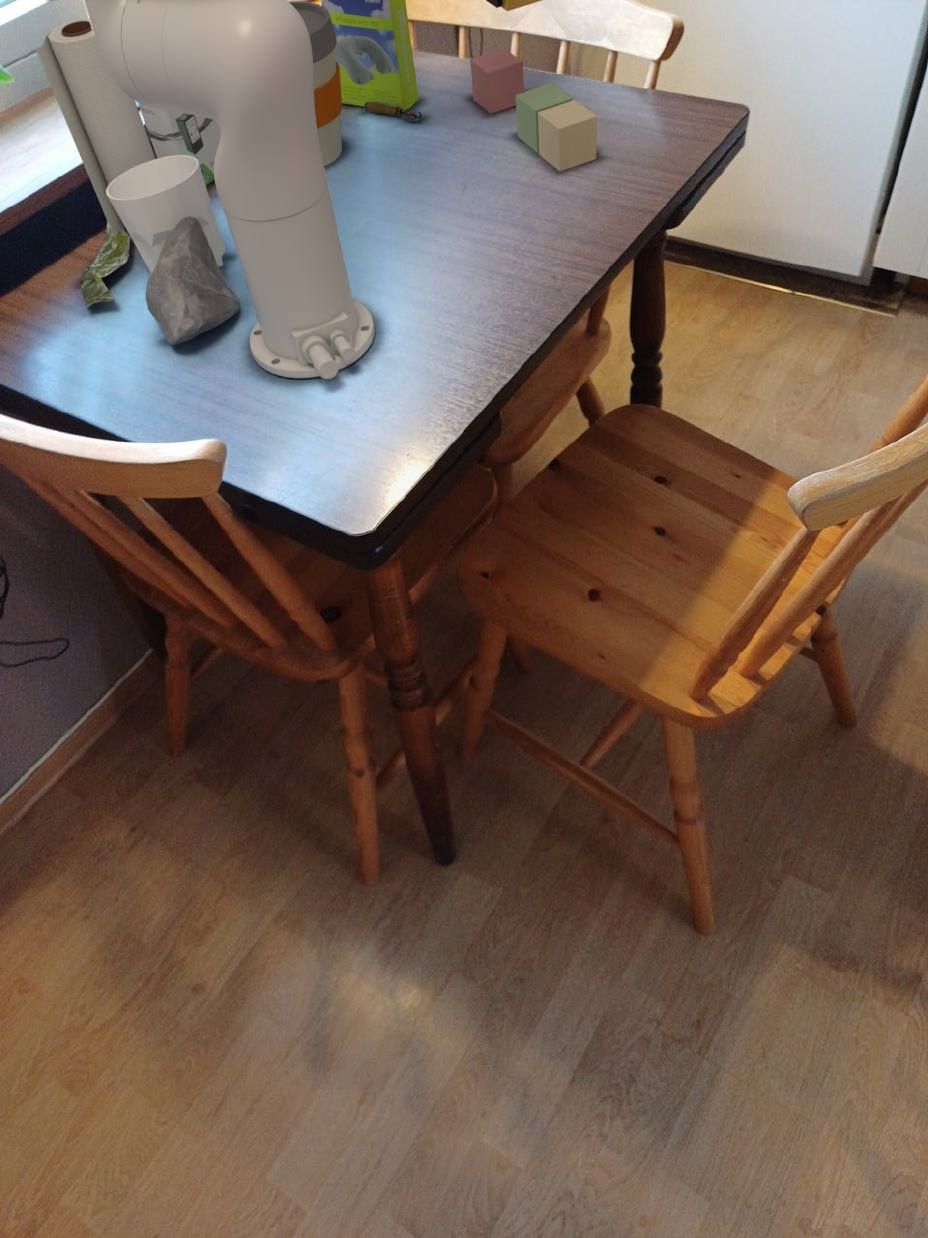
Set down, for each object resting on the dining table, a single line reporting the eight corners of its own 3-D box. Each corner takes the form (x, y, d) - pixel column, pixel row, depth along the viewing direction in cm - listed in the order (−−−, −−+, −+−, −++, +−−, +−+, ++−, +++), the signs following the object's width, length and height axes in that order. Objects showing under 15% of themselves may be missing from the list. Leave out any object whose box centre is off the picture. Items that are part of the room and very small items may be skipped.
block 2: (573, 140, 115) (572, 97, 111) (537, 152, 114) (535, 110, 110) (552, 124, 118) (552, 82, 114) (517, 136, 117) (515, 94, 113)
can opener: (364, 112, 125) (362, 103, 124) (374, 104, 126) (373, 95, 125) (419, 125, 121) (418, 116, 120) (429, 117, 122) (428, 108, 121)
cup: (251, 251, 105) (217, 161, 98) (182, 296, 101) (141, 205, 93) (198, 237, 110) (162, 150, 103) (131, 279, 106) (88, 192, 99)
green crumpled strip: (113, 299, 100) (117, 321, 102) (169, 192, 117) (172, 212, 119) (52, 292, 100) (57, 314, 102) (117, 185, 116) (120, 205, 118)
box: (338, 104, 127) (309, -45, 113) (353, 90, 129) (327, -58, 116) (406, 114, 124) (385, -39, 110) (421, 100, 126) (402, -52, 112)
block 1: (524, 102, 122) (522, 61, 119) (490, 113, 121) (487, 72, 118) (506, 88, 125) (504, 47, 121) (473, 99, 124) (469, 58, 120)
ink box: (193, 196, 116) (159, 95, 107) (165, 187, 118) (129, 88, 109) (240, 163, 120) (212, 63, 110) (212, 155, 122) (182, 56, 112)
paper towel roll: (175, 206, 114) (105, 9, 97) (179, 231, 111) (107, 32, 94) (116, 220, 114) (35, 24, 97) (118, 246, 110) (34, 47, 93)
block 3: (596, 158, 112) (597, 115, 108) (559, 171, 111) (558, 128, 107) (575, 142, 115) (575, 99, 111) (539, 154, 114) (537, 111, 110)
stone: (192, 310, 106) (109, 281, 98) (241, 228, 101) (157, 191, 93) (231, 382, 101) (146, 357, 93) (284, 299, 95) (200, 266, 88)
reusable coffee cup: (261, 187, 116) (225, 55, 104) (255, 139, 123) (221, 11, 111) (362, 167, 116) (338, 34, 104) (350, 121, 124) (326, -8, 112)
